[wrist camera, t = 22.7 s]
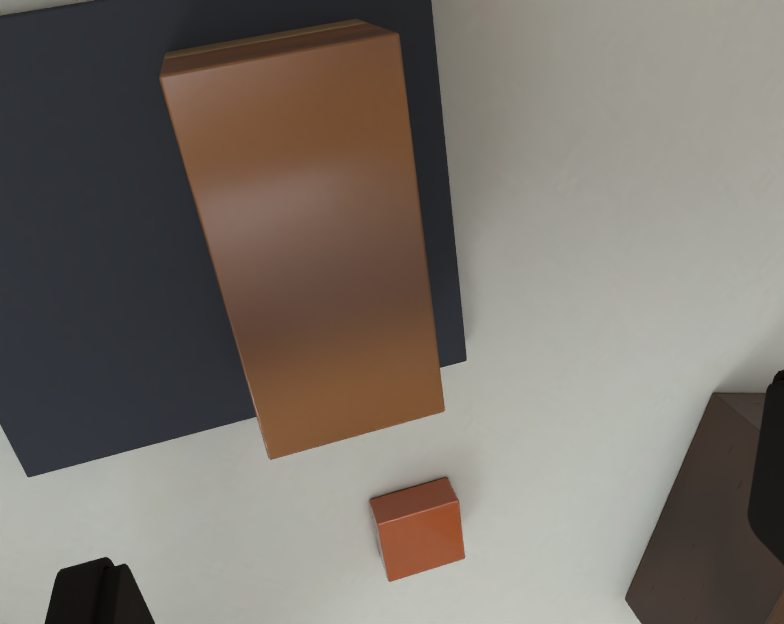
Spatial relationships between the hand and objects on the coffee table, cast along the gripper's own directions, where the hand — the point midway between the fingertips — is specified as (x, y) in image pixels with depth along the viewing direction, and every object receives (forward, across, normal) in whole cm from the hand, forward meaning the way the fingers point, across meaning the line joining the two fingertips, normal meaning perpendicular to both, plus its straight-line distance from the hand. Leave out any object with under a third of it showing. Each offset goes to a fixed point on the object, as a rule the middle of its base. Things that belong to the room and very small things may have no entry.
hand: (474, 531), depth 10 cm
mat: (+15, +4, 0) cm, 15 cm away
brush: (+14, +1, 0) cm, 14 cm away
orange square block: (+15, -1, +15) cm, 21 cm away
